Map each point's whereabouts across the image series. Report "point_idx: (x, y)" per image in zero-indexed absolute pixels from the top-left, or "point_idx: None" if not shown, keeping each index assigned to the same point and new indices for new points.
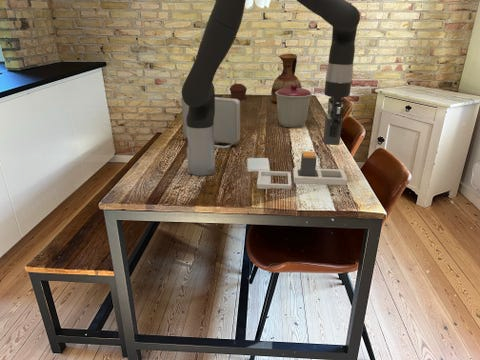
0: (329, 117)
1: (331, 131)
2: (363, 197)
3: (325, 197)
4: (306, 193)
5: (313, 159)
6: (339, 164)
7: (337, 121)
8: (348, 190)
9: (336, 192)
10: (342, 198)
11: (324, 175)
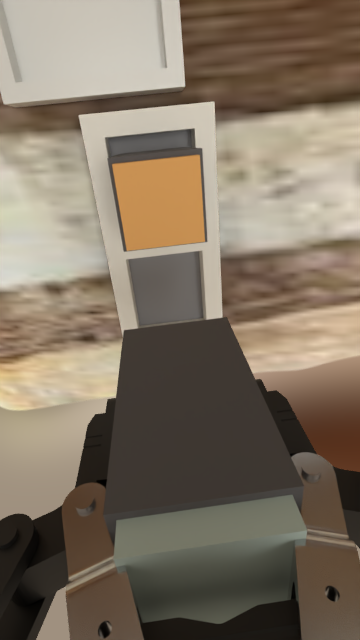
0: (117, 551)
1: (103, 439)
2: (71, 380)
3: (20, 265)
4: (26, 186)
5: (120, 232)
6: (344, 315)
7: (14, 599)
8: (110, 341)
9: (80, 303)
10: (37, 322)
11: (200, 263)
